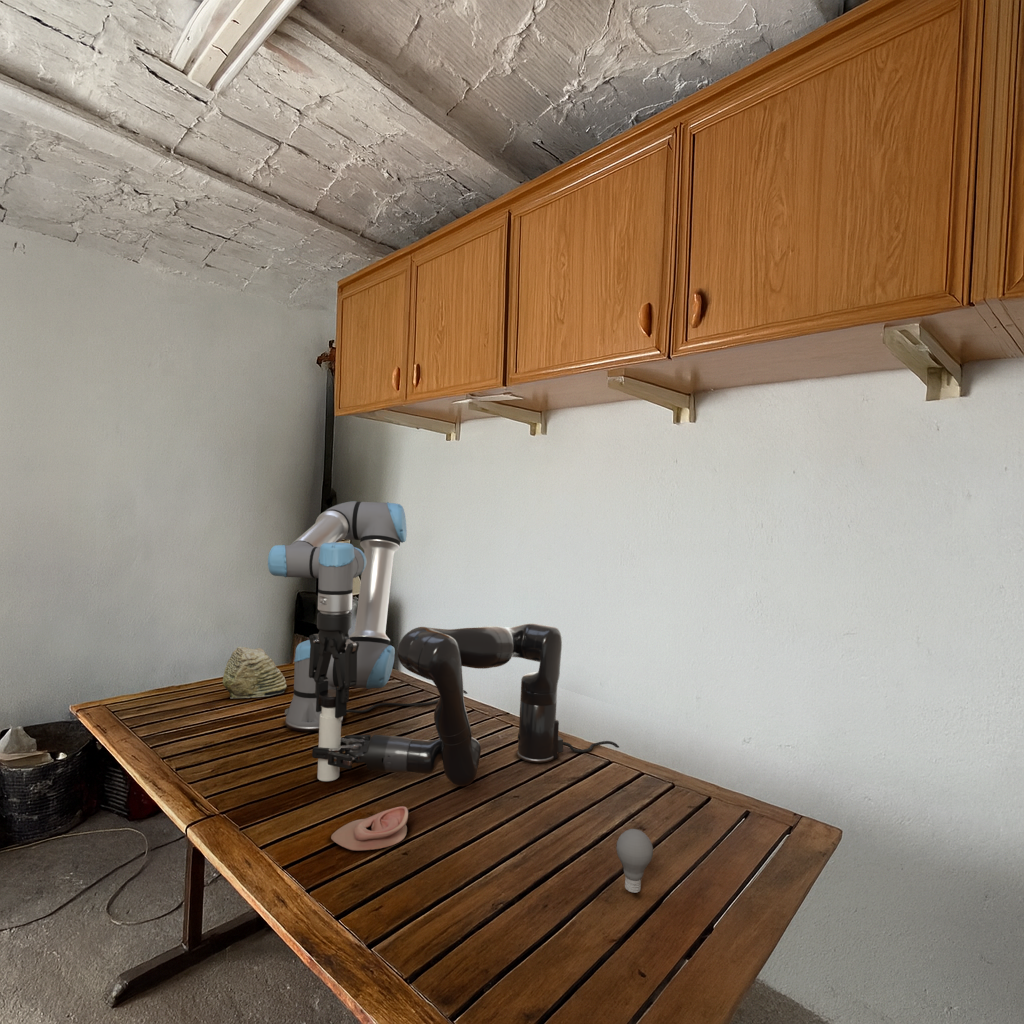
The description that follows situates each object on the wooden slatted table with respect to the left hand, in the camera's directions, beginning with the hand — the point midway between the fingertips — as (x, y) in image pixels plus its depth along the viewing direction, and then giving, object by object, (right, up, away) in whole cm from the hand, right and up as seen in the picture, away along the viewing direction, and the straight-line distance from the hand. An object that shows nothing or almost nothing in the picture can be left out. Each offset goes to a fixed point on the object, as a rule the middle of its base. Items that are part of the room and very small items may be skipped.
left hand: (331, 713), depth 143 cm
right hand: (-3, -8, 0) cm, 8 cm away
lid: (0, +4, 0) cm, 4 cm away
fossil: (-40, -12, +55) cm, 68 cm away
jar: (-1, -14, 0) cm, 14 cm away
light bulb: (+61, -18, -38) cm, 74 cm away
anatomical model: (+14, -16, -24) cm, 32 cm away
